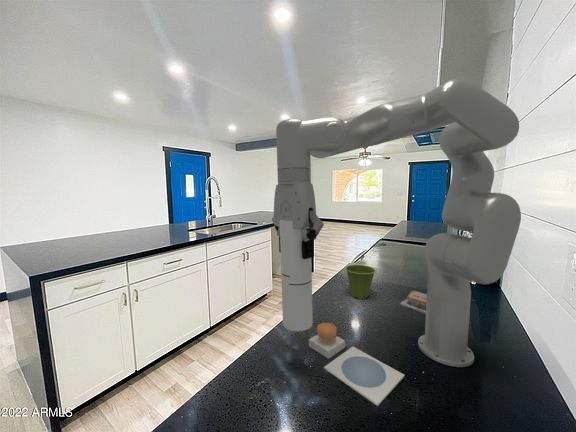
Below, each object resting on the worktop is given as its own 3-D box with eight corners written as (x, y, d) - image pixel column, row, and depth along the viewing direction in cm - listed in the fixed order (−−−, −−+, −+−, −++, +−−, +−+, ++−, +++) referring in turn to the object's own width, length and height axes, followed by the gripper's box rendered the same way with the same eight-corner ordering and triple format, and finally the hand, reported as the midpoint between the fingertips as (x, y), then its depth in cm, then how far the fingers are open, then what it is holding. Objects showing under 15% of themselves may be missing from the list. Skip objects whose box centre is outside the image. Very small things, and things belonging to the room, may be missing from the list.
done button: (325, 327, 71) (325, 320, 71) (340, 334, 67) (340, 327, 67) (313, 334, 68) (313, 327, 68) (328, 342, 64) (328, 335, 64)
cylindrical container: (295, 312, 64) (292, 217, 62) (318, 321, 60) (316, 218, 57) (276, 324, 59) (273, 220, 56) (300, 335, 54) (298, 222, 52)
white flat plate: (352, 347, 67) (352, 346, 67) (404, 376, 57) (404, 374, 57) (323, 368, 60) (323, 366, 60) (377, 406, 49) (377, 403, 49)
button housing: (325, 336, 73) (325, 329, 73) (345, 347, 68) (345, 340, 67) (308, 346, 68) (308, 339, 68) (328, 358, 63) (328, 351, 63)
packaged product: (465, 302, 84) (454, 311, 78) (464, 316, 85) (453, 326, 79) (412, 287, 98) (399, 293, 92) (412, 298, 99) (399, 305, 93)
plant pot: (361, 304, 93) (361, 275, 92) (338, 293, 103) (339, 267, 102) (381, 297, 99) (382, 270, 98) (358, 287, 109) (358, 263, 108)
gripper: (258, 179, 60) (261, 251, 62) (310, 175, 47) (311, 266, 48) (282, 180, 65) (284, 246, 66) (335, 175, 51) (336, 258, 53)
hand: (296, 254), depth 57 cm, fingers closed on cylindrical container, 7 cm apart
